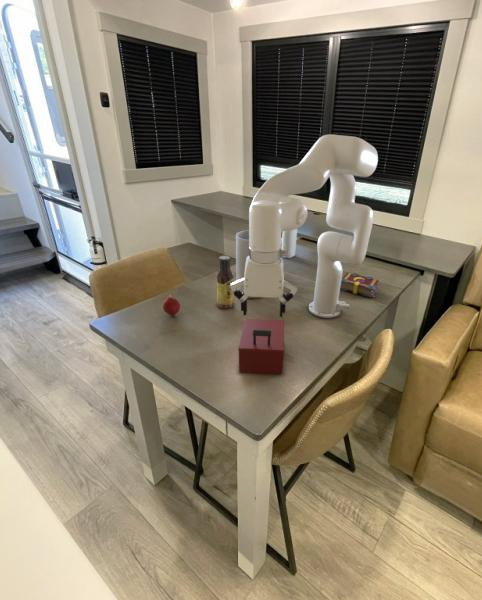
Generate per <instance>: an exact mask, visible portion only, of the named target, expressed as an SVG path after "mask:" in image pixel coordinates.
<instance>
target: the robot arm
mask: <svg viewBox="0 0 482 600" xmlns="http://www.w3.org/2000/svg"><path fill="white" fill-rule="evenodd" d="M378 162H379V156H378V151H377V149H376V148H375V146H373V145H372V144H370V143H369V142H367V141H366V140H364V139H362V138H360V137H357V136H351V135H342V134H341V135H340V134H324V135H322V136H320V137H319V138H318V139H317V140H316V141H315V142H314V144H313V145H312V146H311V148H310V149H309V150H308V152H307V153H306V154H305V155H304V157H303V158H302V159H301V161H300V162H299V163H298V164H296V165H293V166H291V167H288V168H286V169H283V170H282V171H280V172H278V173H275V174H274V175H272V176H270V177H269V178H268V179H266V181H265V182H264V183H263V184H262V185H261V187H259V189H258V190H257V192H256V194H255V195H254V197H252V201H251V204H250V206H249V209H248V210H249V211H248V221H249V222H248V230H249V256H247V258H246V263H245V272H244V278H243V279H240V280H238V281H236V280H235V281H233V283H231V284H230V288H231V290H232V292H233V293H234V297H236V298H237V300H239V302H240V311H241V312H243V316H247V314H248V299H249V298H248V297H249V296H250V297H258V298H267V299H268V298H269V299H278V300H279V301H280V302H279V303H280V304H279V317H280V318H283V314H286V306H287V304H288V302H289V301H291V300H292V299H293V298H294V296H295V295H296V293H297V292H298V286H297V285H295V284H294V283H292V282H289V281H287V280H285V265H284V260H283V257H282V256H286V251H283V250H282V248H281V247H280V245H281V246H282V242H281V238H282V233H283V231H288V230H294V229H297V230H298V229H299V228H300V227H302V226H303V225H304V224H305V222H306V221H307V218H308V207H307V205H306V203H304V201H302V200H301V199H298V198H297V197H296V198H295V197H291V196H293V195H300V194H307V193H311V192H316V191H317V190H320V189H321V188H322V187H323V186H324V185H325V183H326V182H327V181H328V179H329V180H330V190H329V191H330V192H329V197H328V203H327V210H326V216H325V217H326V219H325V222H326V225H328V226H329V227H330V228H332V229H336V230H339V231H344V232H348V233H352V234H353V235H348V234H345V233H341V232H337V231H332V230H331V231H330V230H328V231H325V232H322V233H321V234H320V235H319V236H318V239H317V244H316V248H317V249H316V250H317V251H316V252H317V266H316V267H317V268H316V275H315V276H316V277H315V285H314V294H313V301H311V302H310V303H309V304H308V311H309V312H310V313H311V314H312V315H314V316H315V317H318V318H323V319H332V318H336V317H338V316H339V315H340V314H341V310H342V309H345V310H346V309H347V310H350V308H351V307H350V306H351V305H350V303H346V301H343V300H342V301H340V299H339V297H340V291H341V289H340V286H341V280H342V278H343V273H344V270H343V265H342V263H345V264H348V265H352V266H359V265H362V263H363V262H364V260H365V258H366V255H367V251H368V247H369V242H370V237H371V233H372V228H373V224H374V211H373V209H372V207H370V206H369V205H366V204H363V203H362V204H361V203H357V202H355V200H356V193H357V189H358V188H357V187H358V186H357V181H356V179H355V177H354V176H356V177H361V178H367V177H370V176H372V175H373V173H374V172H375V171H376V169H377V166H378ZM242 285H244V292H243V293H242V292H240V291H239V290H238V289H237V287H239V286H242ZM284 288H286V289H288V290H289V292H287V293H286V294H285V293H284Z"/></svg>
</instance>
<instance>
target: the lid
mask: <svg viewBox="0 0 482 600" xmlns="http://www.w3.org/2000/svg"><path fill="white" fill-rule="evenodd" d="M237 349H238V352H239V351H262V352H284V353H285V320H284V319H275V318H272V319H271V318H252V317H243V323H242V329H241V333H240V338H239V344H238V347H237Z"/></svg>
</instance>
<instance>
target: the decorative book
mask: <svg viewBox="0 0 482 600" xmlns="http://www.w3.org/2000/svg"><path fill="white" fill-rule="evenodd" d="M379 285H380V284H379V279H376V278H373V277H371V276H364V275H360V274H358V273H355V272H353V273H352V272H346V273H345V275H343V276H342V280H341V286H340V291H345V292H347V291H348V292H350V293H352V294H359V295H362V296H364V297H368V298H371V299H372V298H374V299H375V298H376V296H375V293H378V290H377V289H378V288H379Z"/></svg>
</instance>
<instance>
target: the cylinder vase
mask: <svg viewBox="0 0 482 600" xmlns="http://www.w3.org/2000/svg"><path fill="white" fill-rule="evenodd" d="M247 256H249V229H248V230H241V231H238V232H236V233H235V266H236V267H235V276H236V278H235V279H236V280H235V281H238V280H240V279H243V278H244V272H245V263H246V258H247ZM237 289H238V290H239V291H240V292H242V293H243V292H244V285H242V286H239V287H237ZM247 299H259V297H250V296H249V297H248V298H247Z"/></svg>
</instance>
